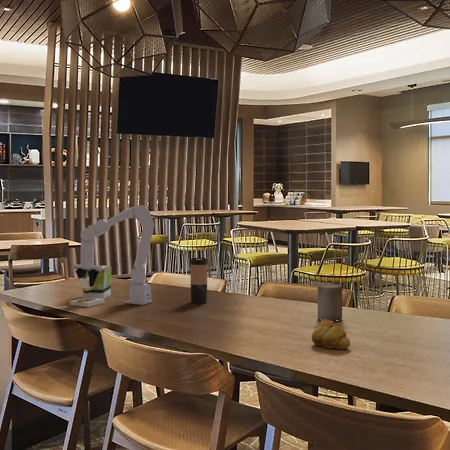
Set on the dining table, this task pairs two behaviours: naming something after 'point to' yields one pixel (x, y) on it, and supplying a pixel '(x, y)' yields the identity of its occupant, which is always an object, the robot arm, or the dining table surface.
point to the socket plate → (87, 302)
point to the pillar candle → (330, 301)
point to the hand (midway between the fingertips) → (87, 286)
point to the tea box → (100, 284)
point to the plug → (85, 284)
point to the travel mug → (198, 280)
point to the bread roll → (330, 336)
